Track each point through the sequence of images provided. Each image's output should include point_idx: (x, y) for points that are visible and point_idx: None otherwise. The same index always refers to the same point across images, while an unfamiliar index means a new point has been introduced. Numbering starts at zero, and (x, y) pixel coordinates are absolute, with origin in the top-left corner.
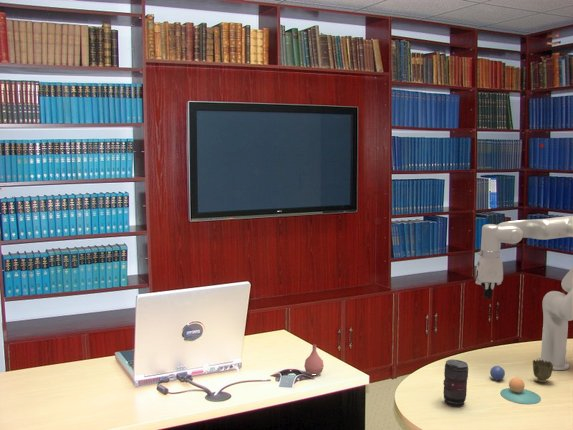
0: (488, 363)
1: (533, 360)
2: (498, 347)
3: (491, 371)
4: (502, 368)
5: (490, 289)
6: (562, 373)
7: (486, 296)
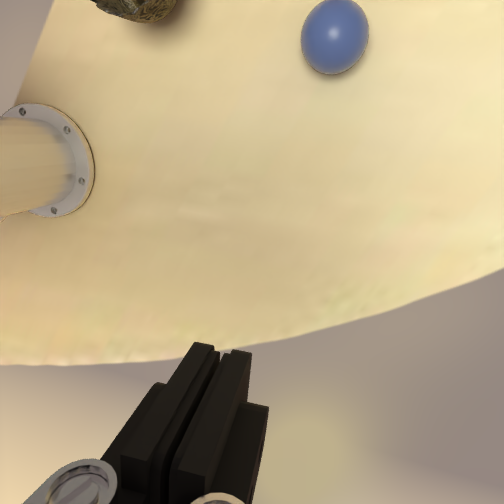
0: (267, 223)
1: (146, 2)
2: (152, 350)
3: (368, 32)
4: (315, 18)
5: (140, 470)
6: (45, 78)
7: (243, 398)
